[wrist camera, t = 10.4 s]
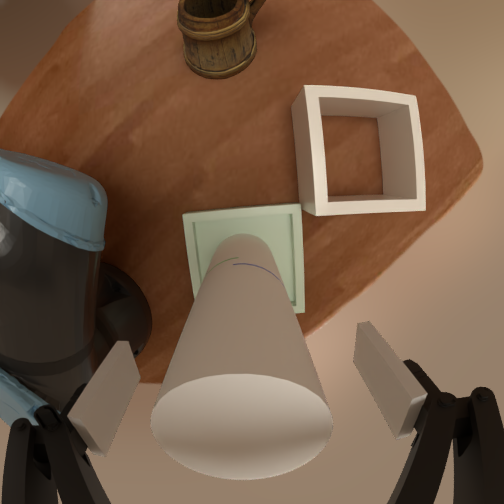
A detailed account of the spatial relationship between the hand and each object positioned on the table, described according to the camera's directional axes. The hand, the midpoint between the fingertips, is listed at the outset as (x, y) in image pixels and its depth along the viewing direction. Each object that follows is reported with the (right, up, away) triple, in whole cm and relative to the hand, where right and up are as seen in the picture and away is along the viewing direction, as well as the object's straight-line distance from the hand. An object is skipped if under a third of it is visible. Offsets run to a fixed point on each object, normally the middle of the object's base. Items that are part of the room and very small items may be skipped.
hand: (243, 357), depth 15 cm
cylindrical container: (0, +4, +19) cm, 19 cm away
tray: (0, +5, +20) cm, 20 cm away
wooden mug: (-1, +32, +13) cm, 35 cm away
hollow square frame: (+12, +17, +17) cm, 27 cm away
